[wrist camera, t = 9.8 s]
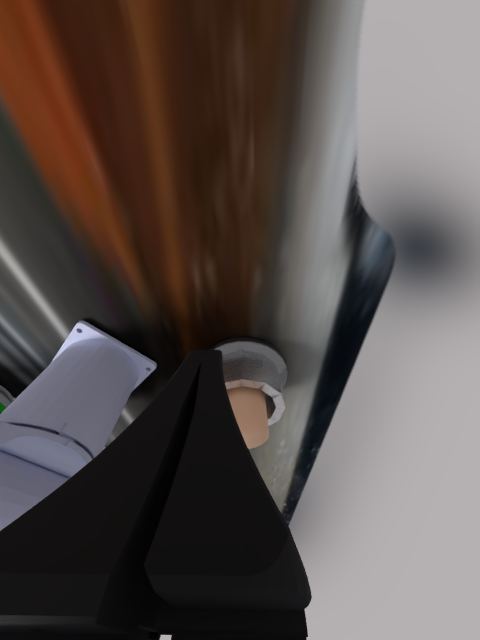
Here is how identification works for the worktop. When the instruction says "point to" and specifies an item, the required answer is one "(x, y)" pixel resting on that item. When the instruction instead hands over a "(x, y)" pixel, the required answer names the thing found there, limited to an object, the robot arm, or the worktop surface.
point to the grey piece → (255, 370)
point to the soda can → (4, 399)
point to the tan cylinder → (250, 414)
